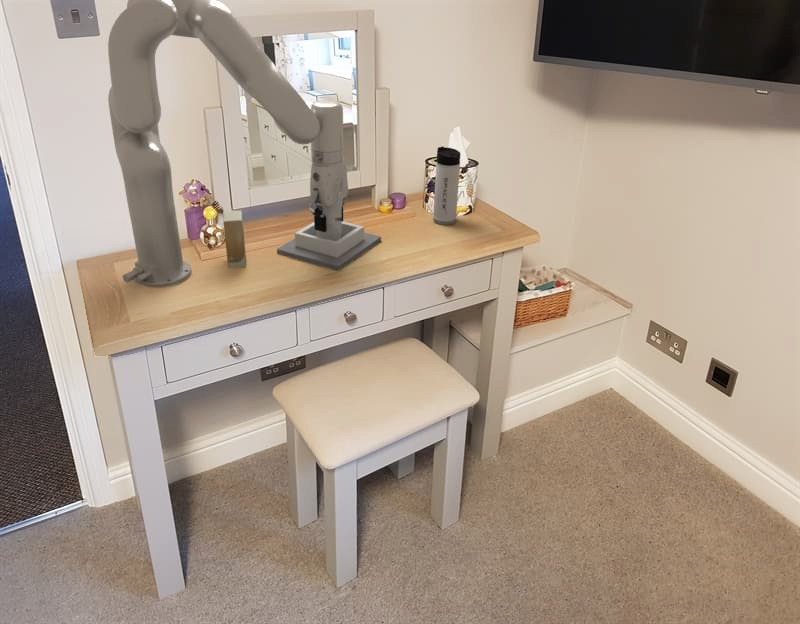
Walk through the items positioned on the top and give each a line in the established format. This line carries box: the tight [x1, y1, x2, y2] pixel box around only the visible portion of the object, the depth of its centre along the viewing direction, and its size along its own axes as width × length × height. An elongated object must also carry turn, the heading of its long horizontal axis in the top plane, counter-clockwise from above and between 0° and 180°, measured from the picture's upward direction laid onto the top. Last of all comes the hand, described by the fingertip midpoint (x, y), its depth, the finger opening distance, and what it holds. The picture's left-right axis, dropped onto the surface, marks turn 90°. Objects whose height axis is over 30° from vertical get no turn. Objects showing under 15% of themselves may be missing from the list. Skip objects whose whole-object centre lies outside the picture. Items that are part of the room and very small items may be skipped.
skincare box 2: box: [317, 192, 343, 240], centre depth 170 cm, size 6×4×12 cm
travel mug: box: [432, 146, 461, 226], centre depth 186 cm, size 6×7×20 cm
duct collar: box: [276, 220, 382, 271], centre depth 173 cm, size 20×18×5 cm
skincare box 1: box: [222, 210, 248, 269], centre depth 162 cm, size 6×4×12 cm
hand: (329, 225), depth 171 cm, fingers closed on skincare box 2, 6 cm apart
